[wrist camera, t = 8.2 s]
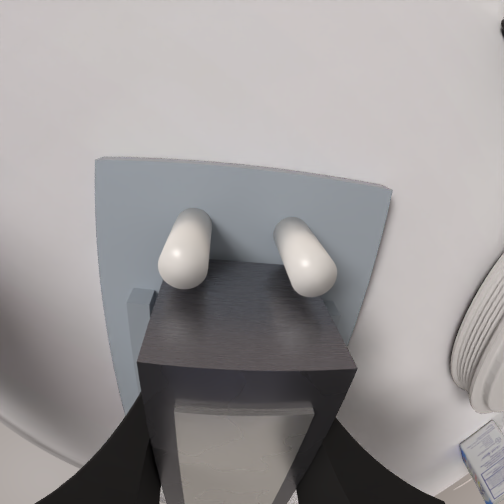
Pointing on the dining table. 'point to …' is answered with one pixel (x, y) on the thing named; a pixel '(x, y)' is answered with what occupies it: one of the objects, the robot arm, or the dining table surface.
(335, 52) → the dining table surface
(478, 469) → the medicine box
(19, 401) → the dining table surface
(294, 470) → the block
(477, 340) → the lid
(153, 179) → the gray peg board
